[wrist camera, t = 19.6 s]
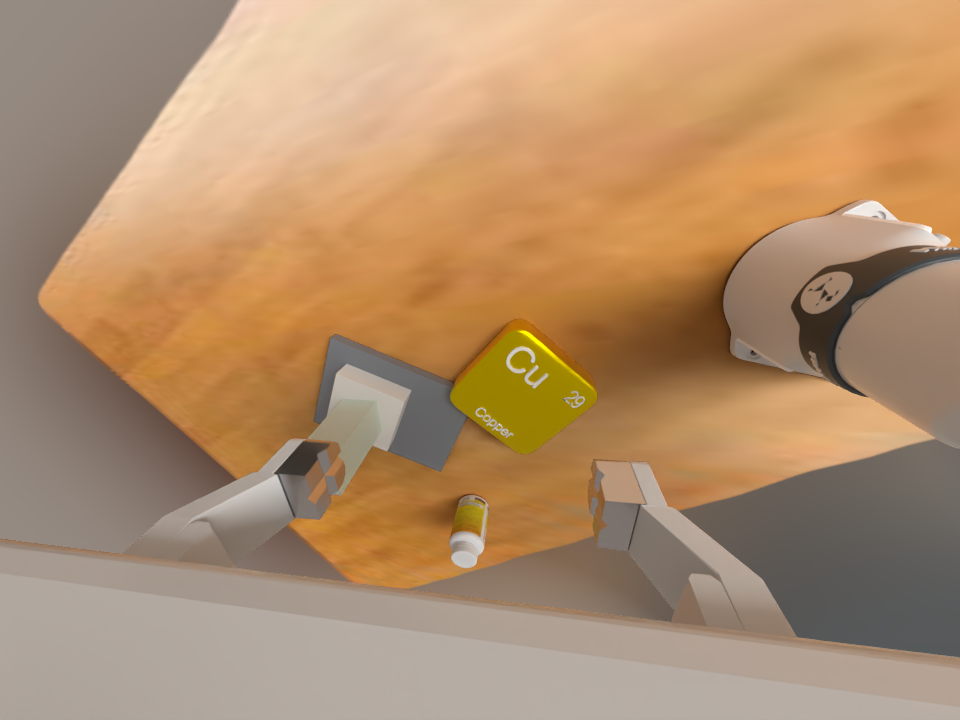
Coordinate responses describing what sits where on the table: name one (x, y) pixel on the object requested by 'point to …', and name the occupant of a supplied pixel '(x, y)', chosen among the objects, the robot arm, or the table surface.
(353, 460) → the sage block
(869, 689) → the robot arm
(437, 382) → the slate board
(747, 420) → the table surface
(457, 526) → the supplement bottle
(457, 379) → the element tile
